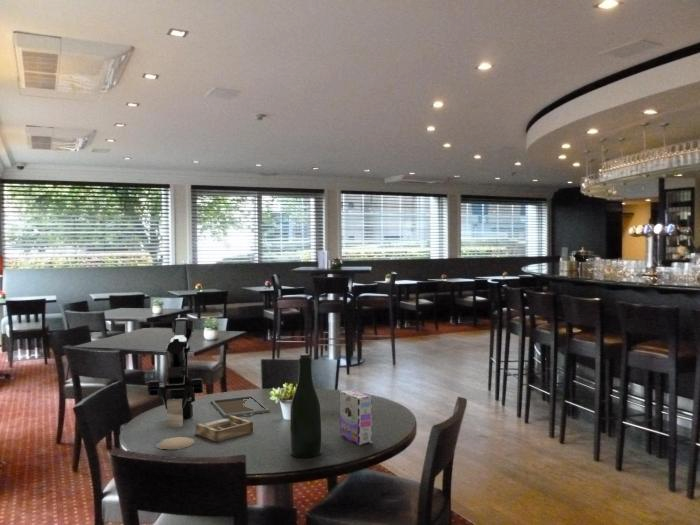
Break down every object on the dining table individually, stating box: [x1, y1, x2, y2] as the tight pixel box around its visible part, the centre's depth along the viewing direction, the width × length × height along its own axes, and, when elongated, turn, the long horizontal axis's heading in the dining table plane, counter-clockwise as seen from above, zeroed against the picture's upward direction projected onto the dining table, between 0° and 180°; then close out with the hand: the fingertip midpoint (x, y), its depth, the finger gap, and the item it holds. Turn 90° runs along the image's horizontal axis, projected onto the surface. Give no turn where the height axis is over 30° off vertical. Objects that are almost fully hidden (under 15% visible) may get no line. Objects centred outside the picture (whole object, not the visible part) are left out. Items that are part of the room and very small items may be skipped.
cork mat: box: [157, 436, 195, 450], centre depth 201 cm, size 13×13×1 cm
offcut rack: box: [195, 415, 254, 443], centre depth 213 cm, size 14×16×4 cm
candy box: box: [339, 388, 373, 446], centre depth 205 cm, size 14×6×16 cm, turn 30°
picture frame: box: [210, 395, 271, 419], centre depth 248 cm, size 19×2×30 cm
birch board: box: [166, 398, 184, 429], centre depth 201 cm, size 3×5×9 cm, turn 102°
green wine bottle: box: [289, 353, 323, 459], centre depth 190 cm, size 10×10×33 cm
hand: (174, 408), depth 199 cm, fingers closed on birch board, 5 cm apart
